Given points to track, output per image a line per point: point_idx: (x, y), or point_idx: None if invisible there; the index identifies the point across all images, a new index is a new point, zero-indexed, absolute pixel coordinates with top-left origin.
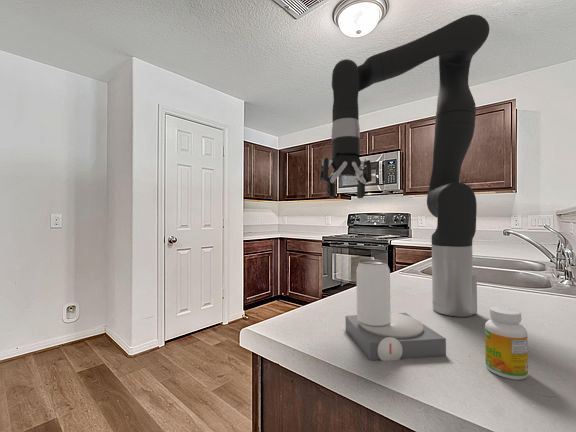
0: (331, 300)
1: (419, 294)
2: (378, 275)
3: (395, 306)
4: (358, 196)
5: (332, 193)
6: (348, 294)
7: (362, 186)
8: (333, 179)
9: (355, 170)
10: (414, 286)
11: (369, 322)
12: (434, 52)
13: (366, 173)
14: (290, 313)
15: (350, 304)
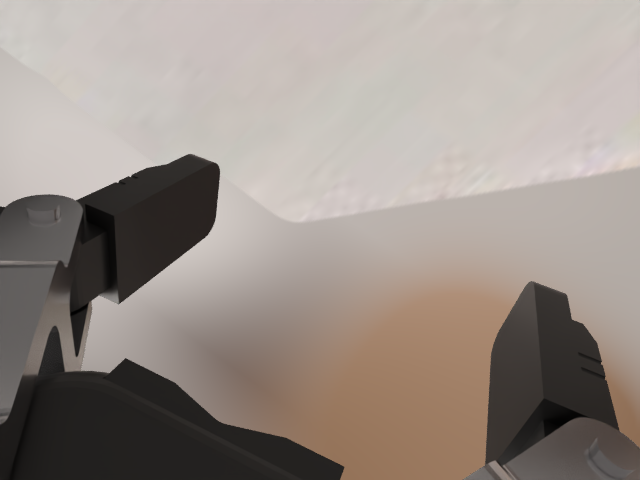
0: (436, 176)
1: (165, 58)
2: None
3: (316, 5)
4: (205, 217)
5: (570, 314)
6: (343, 191)
7: (120, 196)
8: (583, 468)
9: (14, 373)
10: (120, 129)
11: None
12: None
13: None
14: None
15: (419, 108)
